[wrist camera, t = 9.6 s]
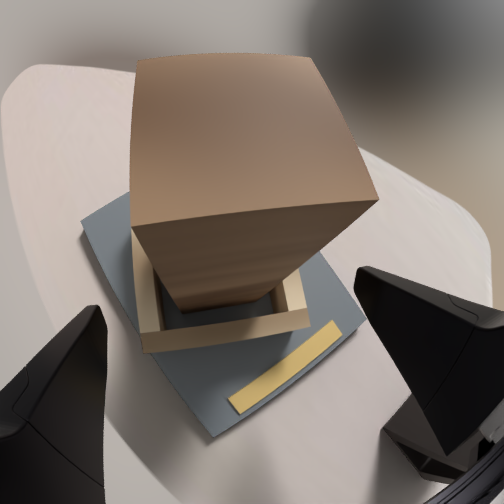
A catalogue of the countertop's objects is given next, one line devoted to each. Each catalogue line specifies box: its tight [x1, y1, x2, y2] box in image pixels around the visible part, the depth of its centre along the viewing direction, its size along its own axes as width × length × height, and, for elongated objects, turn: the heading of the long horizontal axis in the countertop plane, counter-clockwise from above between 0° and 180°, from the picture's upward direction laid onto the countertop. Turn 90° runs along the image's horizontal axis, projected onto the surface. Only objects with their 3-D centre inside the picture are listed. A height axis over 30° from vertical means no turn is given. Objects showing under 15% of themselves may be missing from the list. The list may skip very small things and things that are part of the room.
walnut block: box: [130, 53, 379, 314], centre depth 11 cm, size 4×4×13 cm
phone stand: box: [383, 394, 484, 484], centre depth 12 cm, size 9×6×12 cm, turn 38°
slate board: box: [81, 191, 366, 438], centre depth 18 cm, size 16×12×1 cm
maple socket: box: [131, 228, 311, 354], centre depth 16 cm, size 8×8×3 cm
